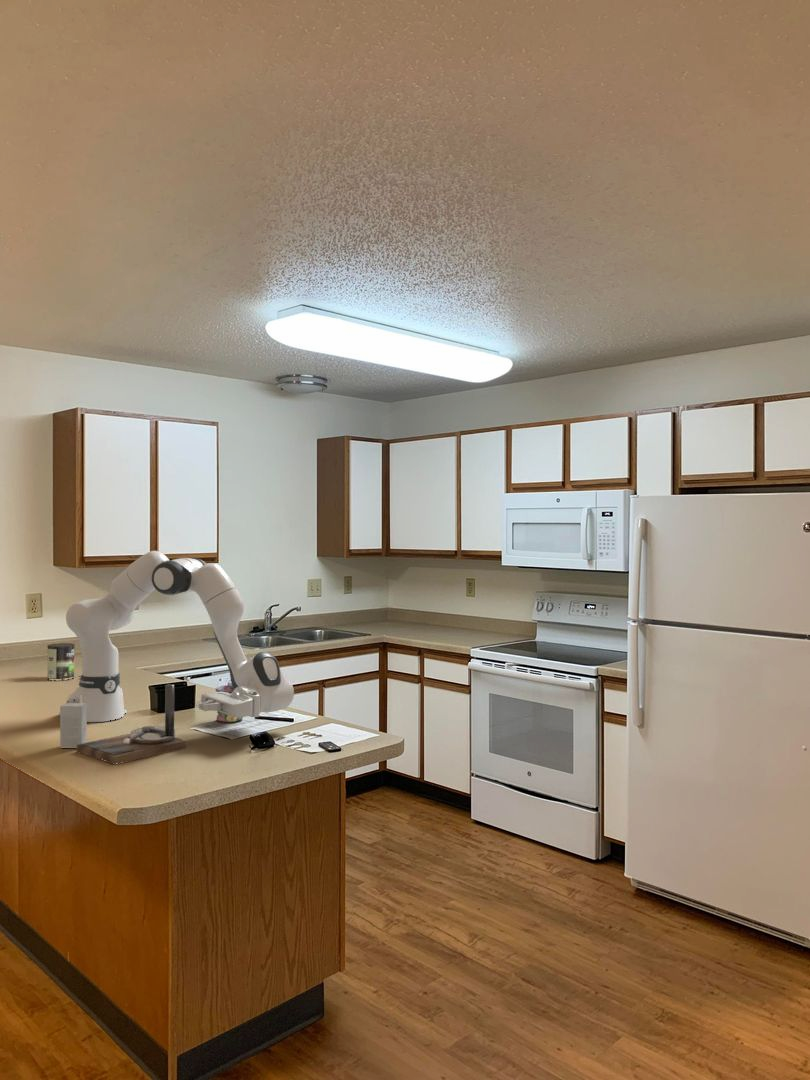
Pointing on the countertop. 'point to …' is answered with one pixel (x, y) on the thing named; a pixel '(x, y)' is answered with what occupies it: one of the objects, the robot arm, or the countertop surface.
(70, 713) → the skincare box
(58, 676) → the coffee can
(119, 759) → the stand
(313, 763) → the countertop surface
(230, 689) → the mug
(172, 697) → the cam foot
